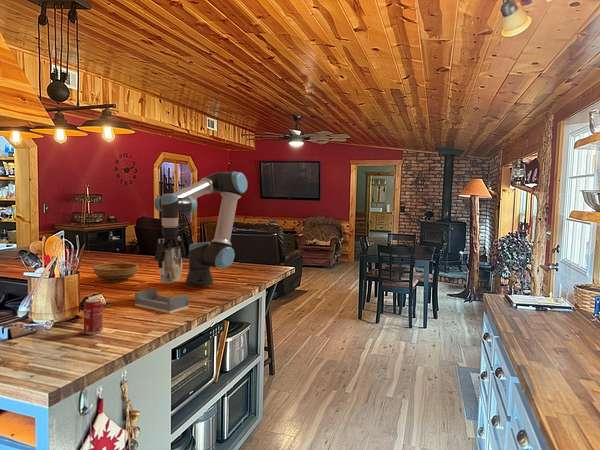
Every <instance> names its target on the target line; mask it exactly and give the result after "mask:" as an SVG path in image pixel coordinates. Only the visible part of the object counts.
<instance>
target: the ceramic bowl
mask: <svg viewBox="0 0 600 450" xmlns="http://www.w3.org/2000/svg"><path fill="white" fill-rule="evenodd" d="M139 267H140V266H139V264H137V263H133V262H109V263H102V264H96V265H94V266H92V268H93V272H94V274H95V275H96V276H97V277H98V278H101V279H104V280H105V281H106V282H108V281H109V283H118V282H119V281H120V282H125V281H127V280H128V279H129V278H131V277H133V276H134V275H136V273H137V272H138V270H139Z"/></svg>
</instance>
